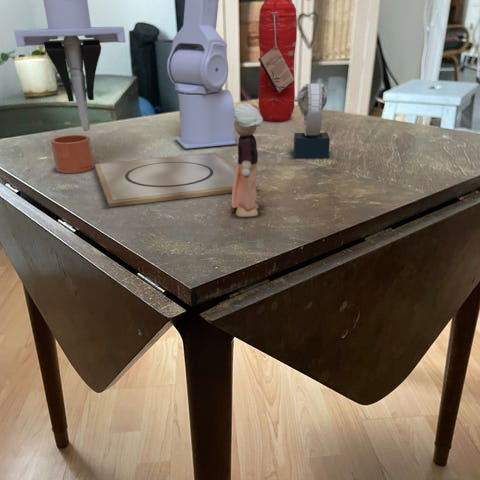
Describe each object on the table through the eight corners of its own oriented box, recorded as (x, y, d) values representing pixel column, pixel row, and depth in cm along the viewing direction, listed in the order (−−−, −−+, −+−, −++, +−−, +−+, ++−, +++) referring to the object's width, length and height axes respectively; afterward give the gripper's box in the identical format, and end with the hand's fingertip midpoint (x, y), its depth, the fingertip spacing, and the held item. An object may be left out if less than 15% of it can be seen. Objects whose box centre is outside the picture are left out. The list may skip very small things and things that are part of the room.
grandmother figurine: (229, 202, 70) (226, 98, 64) (258, 201, 70) (259, 97, 64) (233, 224, 64) (231, 110, 57) (266, 222, 64) (267, 109, 57)
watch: (324, 148, 94) (329, 80, 88) (329, 160, 87) (334, 87, 81) (292, 148, 94) (294, 80, 89) (294, 160, 87) (297, 87, 82)
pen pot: (92, 161, 89) (88, 133, 87) (95, 171, 84) (91, 141, 82) (55, 165, 87) (50, 136, 85) (57, 174, 83) (51, 144, 80)
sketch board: (216, 156, 91) (216, 151, 90) (255, 190, 75) (255, 184, 74) (95, 167, 86) (94, 163, 85) (109, 207, 69) (108, 201, 69)
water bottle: (290, 127, 110) (294, -18, 97) (251, 125, 111) (251, -17, 98) (297, 115, 120) (302, -17, 107) (262, 114, 121) (262, -16, 109)
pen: (97, 128, 82) (81, 24, 75) (92, 132, 80) (74, 25, 73) (81, 128, 83) (63, 24, 75) (75, 132, 80) (56, 25, 73)
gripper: (115, -10, 77) (126, 92, 84) (7, -8, 73) (29, 98, 80) (121, -11, 71) (133, 99, 78) (5, -9, 68) (29, 106, 75)
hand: (81, 99), depth 79 cm, fingers closed on pen, 2 cm apart
